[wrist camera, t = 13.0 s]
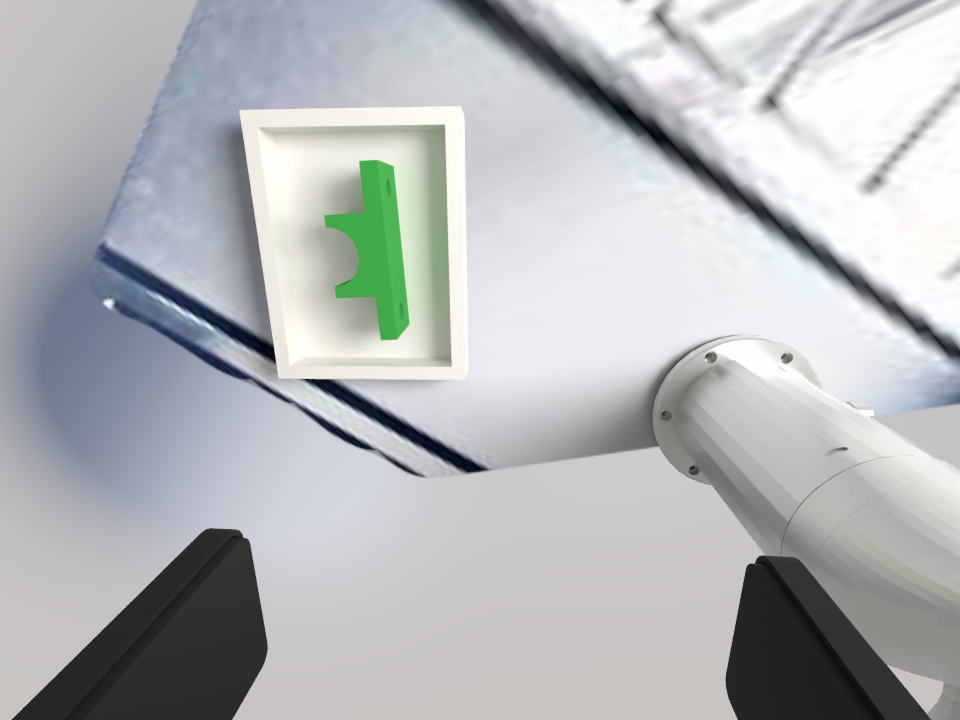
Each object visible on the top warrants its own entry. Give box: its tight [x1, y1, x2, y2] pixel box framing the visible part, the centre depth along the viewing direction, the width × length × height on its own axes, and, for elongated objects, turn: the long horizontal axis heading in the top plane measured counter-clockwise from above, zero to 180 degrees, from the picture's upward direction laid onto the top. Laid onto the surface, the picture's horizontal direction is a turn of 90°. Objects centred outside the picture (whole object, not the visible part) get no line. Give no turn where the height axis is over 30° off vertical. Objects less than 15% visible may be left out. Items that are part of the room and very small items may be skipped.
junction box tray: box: [239, 106, 468, 380], centre depth 34 cm, size 14×18×3 cm
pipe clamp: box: [324, 160, 410, 340], centre depth 32 cm, size 11×4×5 cm, turn 3°
